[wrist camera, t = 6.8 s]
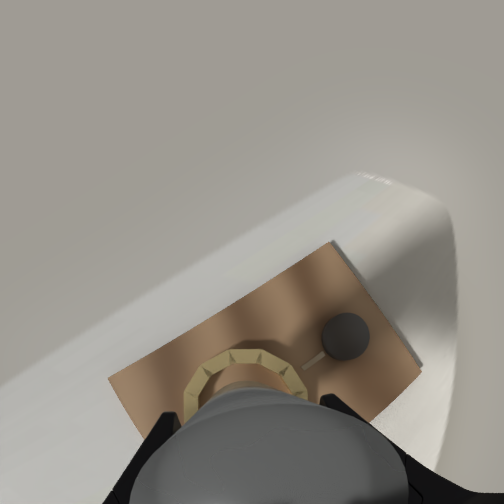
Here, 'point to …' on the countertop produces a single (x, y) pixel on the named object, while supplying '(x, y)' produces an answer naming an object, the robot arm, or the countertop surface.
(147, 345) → the countertop surface
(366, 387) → the board
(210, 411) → the steel peg
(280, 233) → the countertop surface
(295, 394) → the brass ring
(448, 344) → the countertop surface
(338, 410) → the robot arm
